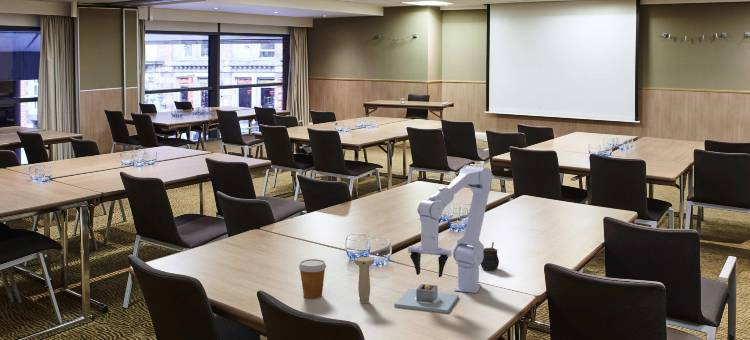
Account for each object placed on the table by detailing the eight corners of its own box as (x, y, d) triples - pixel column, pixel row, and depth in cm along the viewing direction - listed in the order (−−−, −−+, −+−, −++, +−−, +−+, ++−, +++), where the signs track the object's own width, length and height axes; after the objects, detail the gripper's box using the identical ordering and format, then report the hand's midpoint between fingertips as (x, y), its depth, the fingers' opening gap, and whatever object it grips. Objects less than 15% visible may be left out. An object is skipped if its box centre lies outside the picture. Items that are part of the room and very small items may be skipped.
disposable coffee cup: (330, 298, 239) (329, 264, 238) (303, 302, 236) (302, 267, 234) (321, 290, 248) (321, 257, 246) (295, 293, 245) (295, 260, 243)
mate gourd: (478, 270, 271) (479, 245, 269) (481, 265, 278) (482, 241, 277) (497, 272, 269) (498, 247, 267) (499, 267, 276) (500, 242, 274)
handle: (355, 299, 238) (355, 256, 236) (374, 299, 238) (374, 257, 236) (354, 304, 234) (353, 260, 231) (373, 304, 233) (373, 261, 231)
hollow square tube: (421, 295, 239) (421, 283, 239) (437, 296, 238) (437, 285, 237) (416, 301, 233) (416, 289, 233) (432, 303, 232) (432, 291, 231)
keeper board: (408, 291, 246) (408, 275, 245) (458, 297, 240) (458, 280, 239) (394, 306, 231) (394, 289, 230) (447, 313, 225) (447, 295, 224)
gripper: (405, 236, 231) (405, 276, 233) (448, 240, 226) (447, 280, 228) (411, 231, 237) (411, 270, 240) (453, 235, 233) (452, 274, 235)
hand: (429, 275), depth 234 cm, fingers open, 7 cm apart
